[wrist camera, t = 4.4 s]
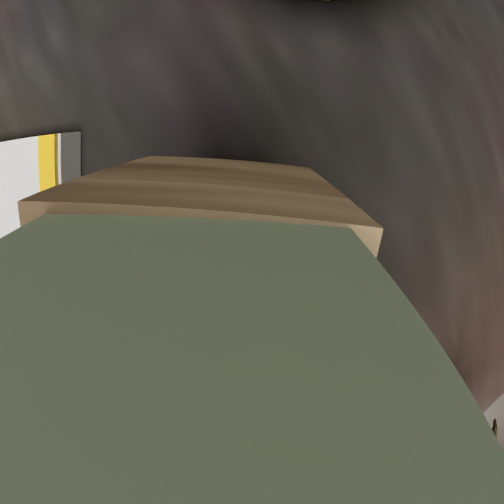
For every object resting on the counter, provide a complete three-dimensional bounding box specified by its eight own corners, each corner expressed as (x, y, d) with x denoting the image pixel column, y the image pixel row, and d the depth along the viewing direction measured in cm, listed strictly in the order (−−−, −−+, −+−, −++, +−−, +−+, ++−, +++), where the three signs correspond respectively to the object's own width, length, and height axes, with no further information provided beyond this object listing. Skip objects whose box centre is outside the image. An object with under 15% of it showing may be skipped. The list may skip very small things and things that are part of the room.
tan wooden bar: (254, 469, 16) (252, 548, 10) (177, 460, 16) (162, 537, 10) (309, 167, 9) (383, 228, 3) (149, 156, 9) (17, 201, 3)
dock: (117, 393, 21) (108, 412, 19) (16, 360, 21) (4, 374, 19) (80, 131, 14) (57, 133, 12) (-32, 149, 14) (-53, 154, 12)
